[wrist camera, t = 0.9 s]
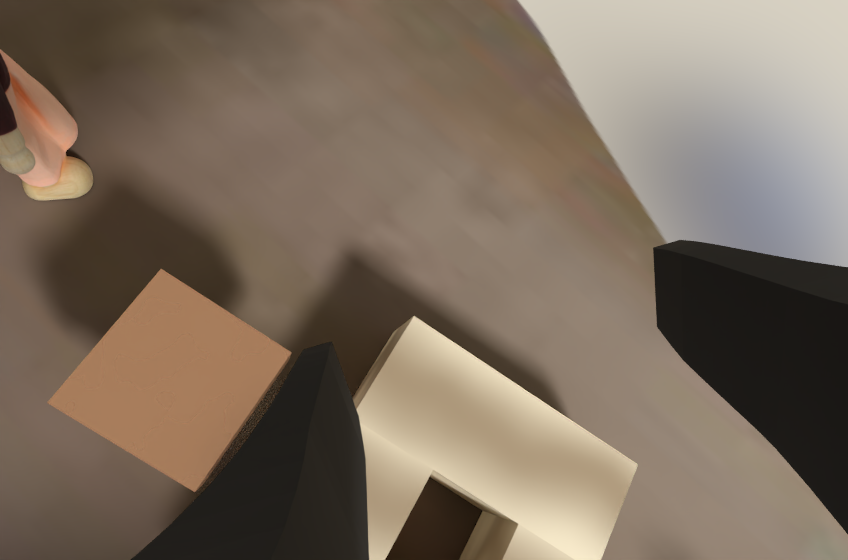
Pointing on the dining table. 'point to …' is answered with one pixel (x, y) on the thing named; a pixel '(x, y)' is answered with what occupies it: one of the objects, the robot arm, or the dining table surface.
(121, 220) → the dining table surface
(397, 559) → the dining table surface
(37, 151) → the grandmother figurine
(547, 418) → the holder
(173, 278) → the orange brown block
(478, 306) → the dining table surface
